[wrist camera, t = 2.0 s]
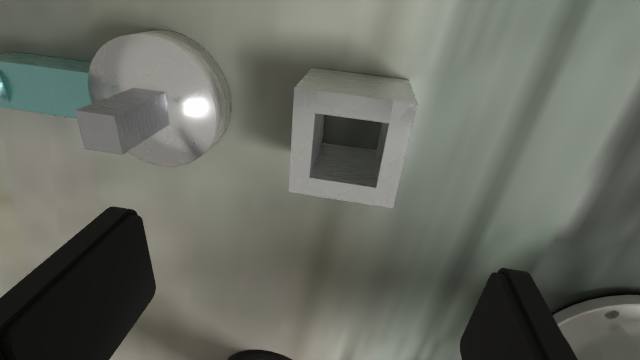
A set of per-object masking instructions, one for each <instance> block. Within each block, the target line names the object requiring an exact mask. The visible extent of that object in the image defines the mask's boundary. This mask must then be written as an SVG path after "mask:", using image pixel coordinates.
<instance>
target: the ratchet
mask: <svg viewBox="0 0 640 360" xmlns="http://www.w3.org/2000/svg"><path fill="white" fill-rule="evenodd" d="M0 107H3V108H10V109H17V110H24V111H30V112H37V113H44V114H51V115H58V116H64V117H71V118H77V121H78V124H79V128H80V132H81V136H82V139H83V143H84V147H85V149H89V150H96V151H102V152H109V153H115V154H124V153H126V152H129V153H130V154H132V155H134V156H135V157H137V158H139V159H141V160H143V161H146V162H149V163H152V164H155V165H160V166H179V165H184V164H187V163H190V162H192V161H194V160H196V159H197V158H198V157H200V156H201V155H202V154H203V153H204V152H205V151H206V150H207V149H209V148H210V147H211V146H212V145H213V144H214V143H215V142H216V141H217V140H218V139H219V138H220V137H221V136H222V135H223V133H224V132H225V130H226V128H227V126H228V123H229V120H230V116H231V95H230V90H229V86H228V83H227V81H226V78H225V76H224V74H223V72H222V70H221V69H220V67H219V65H218V64H217V62H216V61H215V60H214V59H213V57H212V56H211V55H210V54H209V53H208V52H207V51H206V50H205V49H204V48H203V47H201V46H200V45H199V44H198V43H196V42H195V41H193V40H191V39H190V38H188V37H186V36H184V35H181V34H178V33H175V32H171V31H166V30H154V31H147V32H141V33H135V34H129V35H123V36H120V37H116V38H114V39H112V40H110V41H108V42H107V43H105V44H104V45H103V46H102V47H101V48H100V49H99V50H98V51H97V53H96V54H95V56H94V58H93V60H92V62H87V61H80V60H72V59H64V58H57V57H49V56H42V55H34V54H27V53H19V52H11V53H5V54H0Z"/></svg>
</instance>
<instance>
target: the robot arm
mask: <svg viewBox="0 0 640 360" xmlns="http://www.w3.org/2000/svg"><path fill="white" fill-rule="evenodd" d="M155 290H156V284H155V279H154V274H153V269H152V264H151V260H150V255H149V250H148V245H147V240H146V235H145V231H144V226H143V221H142V218H141V217H140V216H138V215H137V213H136V211H135V210H132V209H126V208H120V207H109V208H108V209H106V210H105V211H104V212H103V213H101V214H100V215H99V216H98V217H97V218H95V219H94V220H93V221H92V222H91V223H89V224H88V225H87V226H86V227H85V228H84V229H82V230H81V231H80V232H79V233H78V234H76V235H75V236H74V237H73V238H72V239H70V240H69V241H68V242H67V243H66V244H64V245H63V246H62V247H61V248H60V249H58V250H57V251H56V252H55V253H54V254H52V255H51V256H50V257H49V258H48V259H46V260H45V261H44V262H43V263H42V264H40V265H39V266H38V267H37V268H36V269H34V270H33V271H32V272H31V273H30V274H29V275H27V276H26V277H25V278H24V279H23V280H21V281H20V282H19V283H18V284H17V285H15V286H14V287H13V288H12V289H11V290H9V291H8V292H7V293H6V294H5V295H3V296H2V297H1V298H0V360H109V359H110V358H111V356H112V355H113V354H114V352H115V351H116V349H117V348H118V346H119V345H120V344H121V342H122V341H123V339H124V338H125V337H126V335H127V334H128V332H129V331H130V329H131V328H132V327H133V325H134V324H135V322H136V321H137V320H138V318H139V317H140V315H141V314H142V312H143V311H144V310H145V308H146V307H147V305H148V304H149V303H150V301H151V300H152V298H153V296H154V294H155ZM460 352H461V357H462V360H640V295H618V296H607V297H602V298H597V299H592V300H588V301H585V302H581V303H578V304H575V305H572V306H570V307H568V308H566V309H564V310H562V311H559V312H557V313H556V314H554V315H553V316H552V314H551V312H550V310H549V308H548V306H547V305H546V303H545V301H544V299H543V297H542V295H541V294H540V292H539V290H538V288H537V286H536V285H535V283H534V281H533V279H532V277H531V276H530V274H529V273H527V272H526V271H519V270H513V269H507V268H501V269H500V270H499V271H498V273H492V274H491V275H490V277H489V279H488V282H487V284H486V286H485V288H484V290H483V292H482V295H481V297H480V299H479V301H478V303H477V305H476V307H475V310H474V312H473V314H472V316H471V318H470V320H469V323H468V325H467V327H466V329H465V331H464V333H463V335H462V338H461V341H460Z"/></svg>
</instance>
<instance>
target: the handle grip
mask: <svg viewBox="0 0 640 360" xmlns="http://www.w3.org/2000/svg"><path fill="white" fill-rule="evenodd" d="M228 360H291V359H289V358H287V357H285V356H282V355H279V354H276V353H273V352H268V351H262V350H247V351H243V352H238V353H236V354H234V355H232V356H230V357H229V358H228Z"/></svg>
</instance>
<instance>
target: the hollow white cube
mask: <svg viewBox="0 0 640 360" xmlns="http://www.w3.org/2000/svg"><path fill="white" fill-rule="evenodd" d="M417 105H418V104H417V101H416V98H415V95H414V92H413V89H412V87H411V84H410V81H409V80H405V79H397V78H389V77H381V76H373V75H366V74H358V73H350V72H342V71H334V70H326V69H318V68H311V69H310V70H309V72H308V73H307V74H306V75H305V76H304V77H303V78H302V79H301V81H300V82H299V83H298V84H297V85H296V86H295V87H294V101H293V119H292V137H291V155H290V173H289V191H288V192H292V193H299V194H305V195H311V196H318V197H324V198H330V199H337V200H343V201H349V202H356V203H362V204H368V205H375V206H381V207H387V208H393V206H394V202H395V198H396V194H397V189H398V185H399V181H400V177H401V172H402V168H403V164H404V160H405V156H406V151H407V147H408V143H409V139H410V134H411V130H412V126H413V122H414V117H415V113H416V109H417ZM325 115H332V116H339V117H346V118H354V119H361V120H368V121H375V122H382V124H381V130H380V135H379V140H378V145H377V150H371V149H364V148H357V147H350V146H343V145H336V144H329V143H323V132H324V122H325Z"/></svg>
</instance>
